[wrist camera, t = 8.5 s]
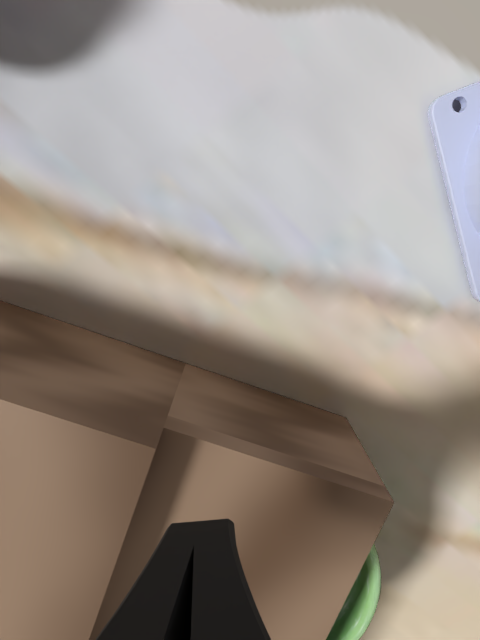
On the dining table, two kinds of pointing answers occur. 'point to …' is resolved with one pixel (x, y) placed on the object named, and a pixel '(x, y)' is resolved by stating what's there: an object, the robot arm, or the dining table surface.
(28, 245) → the dining table surface
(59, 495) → the walnut shelf
